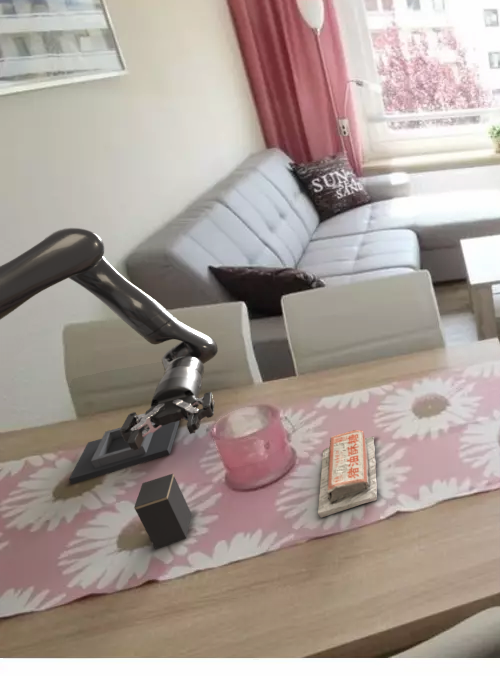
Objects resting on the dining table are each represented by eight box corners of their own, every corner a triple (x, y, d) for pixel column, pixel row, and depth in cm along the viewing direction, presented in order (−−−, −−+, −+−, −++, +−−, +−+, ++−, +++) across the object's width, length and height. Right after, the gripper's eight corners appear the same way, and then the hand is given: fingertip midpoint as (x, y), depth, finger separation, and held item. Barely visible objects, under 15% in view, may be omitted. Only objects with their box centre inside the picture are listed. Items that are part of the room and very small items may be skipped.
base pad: (72, 484, 106) (64, 471, 105) (90, 447, 116) (84, 435, 115) (169, 455, 113) (164, 442, 112) (179, 422, 123) (174, 410, 121)
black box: (155, 550, 92) (133, 507, 88) (162, 524, 97) (142, 482, 93) (186, 539, 93) (166, 496, 90) (192, 514, 98) (173, 473, 95)
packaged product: (318, 436, 110) (370, 422, 113) (324, 454, 111) (374, 440, 115) (312, 500, 94) (373, 481, 98) (319, 520, 96) (378, 501, 100)
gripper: (129, 387, 108) (106, 436, 95) (212, 366, 114) (201, 408, 101) (143, 417, 111) (123, 468, 98) (223, 394, 117) (214, 439, 104)
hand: (163, 437), depth 99 cm, fingers open, 8 cm apart
